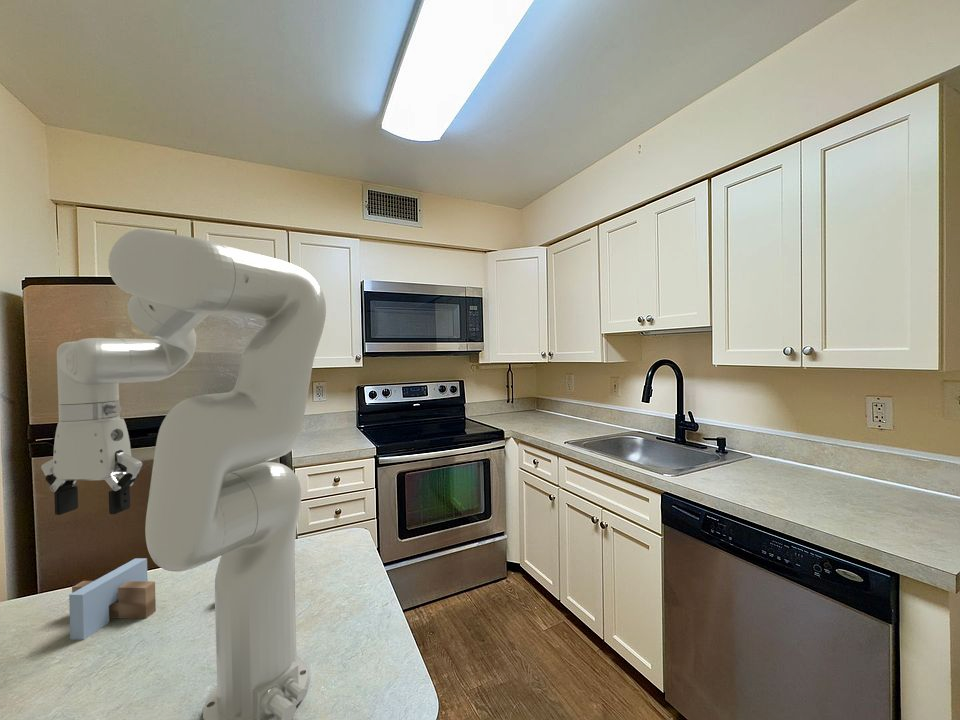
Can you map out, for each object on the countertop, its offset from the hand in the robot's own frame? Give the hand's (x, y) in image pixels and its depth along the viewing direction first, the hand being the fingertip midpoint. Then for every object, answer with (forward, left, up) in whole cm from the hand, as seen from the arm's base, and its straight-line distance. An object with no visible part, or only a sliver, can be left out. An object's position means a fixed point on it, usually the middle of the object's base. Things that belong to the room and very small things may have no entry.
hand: (93, 511), depth 69 cm
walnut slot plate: (+3, -3, -20) cm, 21 cm away
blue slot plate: (+2, -3, -20) cm, 21 cm away
